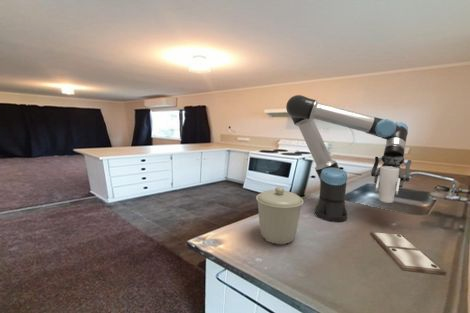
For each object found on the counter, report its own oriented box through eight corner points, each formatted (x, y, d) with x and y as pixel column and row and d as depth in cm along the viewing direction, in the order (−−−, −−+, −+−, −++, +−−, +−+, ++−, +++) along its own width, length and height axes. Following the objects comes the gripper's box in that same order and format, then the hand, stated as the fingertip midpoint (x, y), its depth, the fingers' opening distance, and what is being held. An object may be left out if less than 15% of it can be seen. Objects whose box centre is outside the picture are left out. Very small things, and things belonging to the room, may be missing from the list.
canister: (245, 237, 87) (247, 186, 84) (271, 223, 100) (272, 178, 97) (286, 256, 75) (289, 198, 72) (308, 237, 88) (312, 187, 85)
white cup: (373, 198, 99) (376, 166, 97) (387, 198, 99) (390, 166, 97) (384, 204, 92) (388, 169, 90) (399, 203, 93) (403, 169, 90)
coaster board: (402, 270, 69) (403, 265, 68) (370, 234, 91) (370, 230, 91) (445, 275, 67) (446, 270, 66) (401, 237, 89) (402, 233, 89)
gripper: (420, 157, 99) (414, 200, 89) (370, 152, 111) (361, 190, 101) (422, 146, 94) (417, 191, 84) (370, 143, 106) (360, 181, 96)
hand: (386, 191), depth 92 cm, fingers closed on white cup, 6 cm apart
